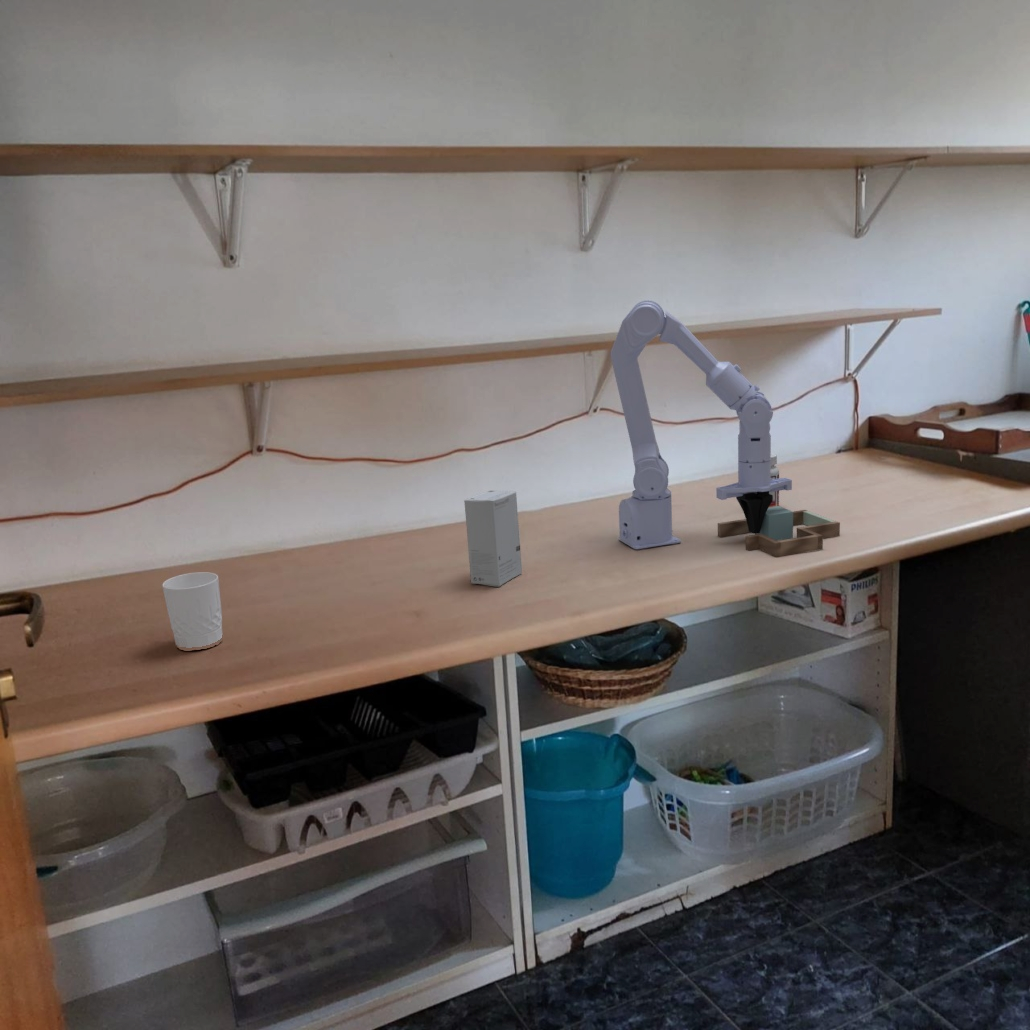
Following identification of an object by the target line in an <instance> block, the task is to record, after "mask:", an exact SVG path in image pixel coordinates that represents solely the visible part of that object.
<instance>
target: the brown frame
mask: <svg viewBox="0 0 1030 1030" xmlns="http://www.w3.org/2000/svg"><path fill="white" fill-rule="evenodd" d="M804 511H808V510H807V509H802V510H801V509H800V510H793V511H792V512H793V527H794V526H799V525H800V526H799V527H796V537H793V538H790V539H784V540H777V541H776V540H774V539H772V538H770V537H767V536H765V535H763V534H749V533H751V532H749V529H748V525H747V521H746V518H743V519H736V520H730V521H723V522H718V523H717V537H719V538H724V537H725V538H726V537H731V536H736V535H743V534H749V535H745V550H746V551H749V552H750V551H755V550H760V551H762V552H764V553H766V554H768V555H770V556H773V557H775V558H778V557H784V556H789V555H790V556H791V555H794V554H796V555H797V554H801V553H802V554H803V553H807V552H812V551H814V552H815V551H818V550H819V551H821V550H823V549H824V547H823V545H824V539H828V538H834V537H840V534H841V533H840V532H841V522H839V521H836V520H835V521H836V522H830V523H823V524H817V525H811V526H807V525H804V524H803V512H804ZM801 525H804V526H801Z"/></svg>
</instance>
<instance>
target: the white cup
mask: <svg viewBox="0 0 1030 1030" xmlns="http://www.w3.org/2000/svg"><path fill="white" fill-rule="evenodd" d="M161 586H162V591H163V595H164V600H165V605H166V609H167V614H168V619H169V621H170V628H171V630H172V632H173V638H174V642H175V646H176V645H178V646H179V647H186V648H192V647H202V646H206V645H210V644H212V643H215V642H217V641H218V640H220V639H221V638H222V635H223V636H224V634H223V626H222V625H223V618H222V615H223V614H222V613H223V612H222V603H221V593H220V582H219V575H218V574H217V573H214V572H207V571H206V572H205V571H202V572H201V571H199V572H189V573H183V574H180V575H176V576H173V577H171V578H170V577H169V578H167V579H166V580H164V581H163V582H162V585H161Z"/></svg>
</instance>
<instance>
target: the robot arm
mask: <svg viewBox="0 0 1030 1030" xmlns="http://www.w3.org/2000/svg"><path fill="white" fill-rule="evenodd" d="M658 335H659V339H658V341H659V342H663V343H666V344H671V345H674V346H675V347H676V348H678V350H680V351H681V352H682V354H684V355H685V356H686V357H687V358H688V359H689V360H690V361H691V362H693V364H694V365H695V366H697V367H698V368H699V370H701V371H702V372H703V373H704V374H705V385H706V387H707V388H709V390H710V391H711V392H712V393H714V394H715V396H716V397H717V398H719V400H720V401H721V402H723V403H724V405H726V407H727V408H728V409H729V410H734V411H735V413H736V415H737V418H738V420H739V422H738V423H739V428H738V429H739V434H738V436H737V439H738V440H737V459H738V460H737V465H738V467H737V470H738V471H737V473H738V474H737V475H738V477H737V481H738V482H735V483H731V484H727V485H724V486H718V487H716V489H715V490H716V495H715V496H716V498H717V499H718V500H721V501H723V500H727V499H731V498H736V501H737V502H738V504H739V506H740V507H741V510H742V511H743V515H744V519H746V521H747V525H748V529H749V532H750V533H751V534H753V535H755V534H757V533H760V530H761V526H762V522H763V519H764V516H765V514H766V511H767V509H768V507H769V506H770V504H771V502H772V501H773V495H770V494H769V492H773V491H779V492H780V491H792V490H793V489H792V487H793V482H792V481H793V480H792V479H791V478H787V477H781V478H780V477H779V479H771V453H772V452H771V451H772V449H771V447H772V442H771V440H772V438H771V437H772V435H771V433H770V431H771V424H770V422H771V421H772V419H773V415H774V412H773V410H772V406H771V405H772V404H771V403H770V401H769V400H768V399H767V397H766V396H765V394H764V393H763V392H761V391H760V387H759V386H758V385H757V384H755V385H753V384H752V383H751V382H750V381H749V379H747V378H746V377H745V376H744V374H742V372H741V371H742V368H741V367H740V366H739V365H738V363H737V364H734V365H733V364H732V363H731V362H730V361H718V360H717V358H716V357H714V356H713V354H712V353H711V352H710V351H709V350H708V349H707V348H706V346H704V344H703V343H702V342H700V340H699V339H698V338H697V337H696V336H695V335H694V334H693V333H692V332H691V331H690V329H689V328H687V327H686V326H685V324H684V323H683V322H682V321H680V320H679V319H678V318H677V317H675V316H674V315H672V314H671V313H670V312H668V311H667V310H666V311H665V313H664V310H663V308H662V306H661V305H660V304H659V303H657V302H655V301H654V300H653V301H652V300H643V301H639V302H638V303H636V304H635V305H634V306H633V307H632V309H630V311H629V313H628V314H626V316H625V318H623V320H622V321H621V324H620V327H619V330H618V332H617V335H616V337H615V340H614V342H613V345H612V348H611V350H610V360H611V365H612V368H613V372H614V377H615V382H616V386H617V389H618V393H619V398H620V402H621V407H622V412H623V416H624V419H625V425H626V429H627V433H628V437H629V438H628V439H629V440H630V447H631V451H632V459H633V465H634V476H633V479H632V483H633V488H634V490H632V493H631V496H630V497H627V498H625V499H622V500H621V501H620V503H619V505H618V523H619V525H618V526H619V536H618V537H617V538H618V540H619V541H620V542H622V543H624V544H625V545H628V546H629V547H631V548H632V549H634V550H640V549H641V550H642V549H648V548H655V547H660V546H667V545H673V544H678V543H679V544H680V543H682V540H681V539H680V538H679V537H676V536H674V535H673V518H672V517H673V514H672V513H673V512H672V511H673V510H672V509H673V508H672V507H673V505H672V491H671V490H670V489H669V488H668V486H669V473H670V471H669V466H668V463H667V461H666V460H664V458H663V457H662V455H661V453H660V449H659V445H658V442H657V439H656V433H655V429H654V426H653V421H652V417H651V413H650V408H649V404H648V400H647V394H646V390H645V386H644V382H643V377H642V373H641V369H640V365H639V359H638V357H639V356H640V354H642V352H643V350H644V349H645V347H646V345H647V344H649V343H650V342H651V341H652V340H653V339H655V338H656V337H657V336H658Z"/></svg>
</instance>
